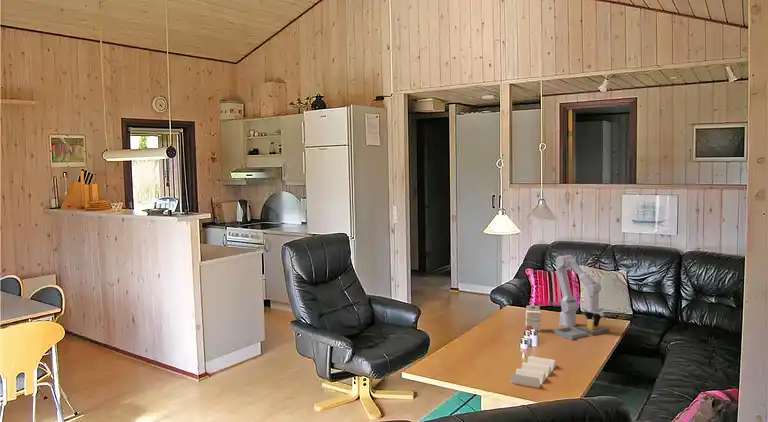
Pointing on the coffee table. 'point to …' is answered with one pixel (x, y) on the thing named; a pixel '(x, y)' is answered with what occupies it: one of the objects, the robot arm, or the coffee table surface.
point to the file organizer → (533, 372)
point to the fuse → (591, 324)
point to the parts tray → (570, 333)
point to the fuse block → (595, 331)
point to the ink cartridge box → (533, 318)
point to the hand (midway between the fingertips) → (593, 325)
